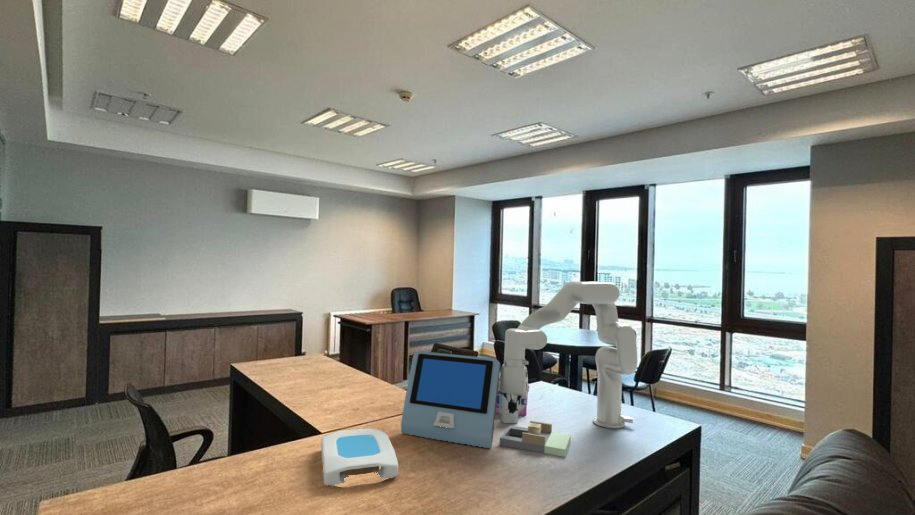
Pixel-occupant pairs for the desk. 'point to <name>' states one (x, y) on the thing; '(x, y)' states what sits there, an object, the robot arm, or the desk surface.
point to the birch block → (534, 428)
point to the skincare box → (506, 415)
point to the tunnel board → (536, 440)
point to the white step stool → (357, 454)
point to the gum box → (521, 404)
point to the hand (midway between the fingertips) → (512, 412)
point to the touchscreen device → (452, 398)
